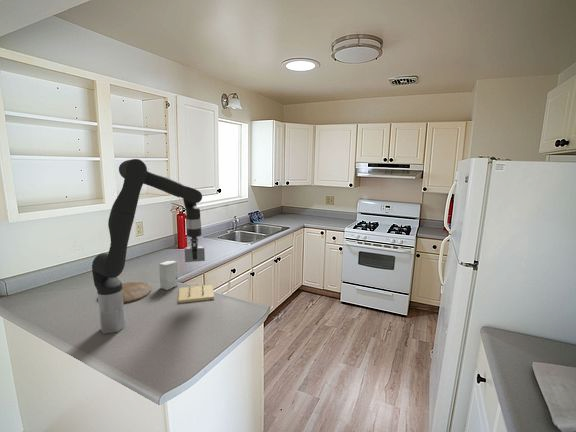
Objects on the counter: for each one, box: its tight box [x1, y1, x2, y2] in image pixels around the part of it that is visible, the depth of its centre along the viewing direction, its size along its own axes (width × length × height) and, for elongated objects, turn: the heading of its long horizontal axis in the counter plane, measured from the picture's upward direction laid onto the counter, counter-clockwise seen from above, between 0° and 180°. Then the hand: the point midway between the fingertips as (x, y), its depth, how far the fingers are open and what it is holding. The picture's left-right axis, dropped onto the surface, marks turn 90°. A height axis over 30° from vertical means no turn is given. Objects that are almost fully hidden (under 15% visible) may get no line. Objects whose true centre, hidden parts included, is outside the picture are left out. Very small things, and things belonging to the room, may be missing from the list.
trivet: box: [122, 281, 152, 305], centre depth 165 cm, size 25×25×2 cm
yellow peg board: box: [177, 284, 215, 304], centre depth 165 cm, size 16×18×4 cm
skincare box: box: [158, 260, 179, 291], centre depth 174 cm, size 8×6×15 cm
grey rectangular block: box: [184, 245, 206, 263], centre depth 161 cm, size 4×10×7 cm, turn 107°
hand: (194, 257), depth 162 cm, fingers closed on grey rectangular block, 4 cm apart
